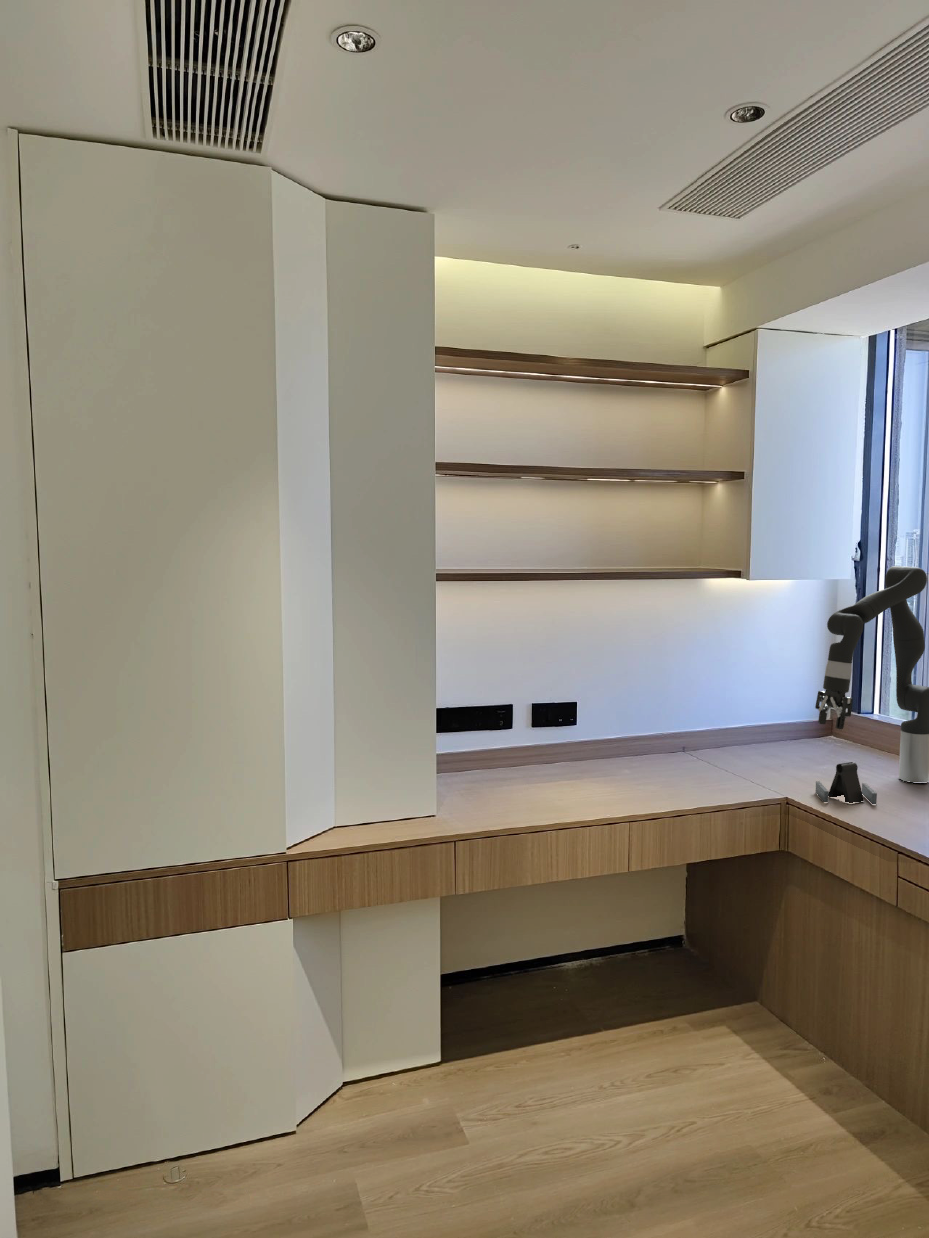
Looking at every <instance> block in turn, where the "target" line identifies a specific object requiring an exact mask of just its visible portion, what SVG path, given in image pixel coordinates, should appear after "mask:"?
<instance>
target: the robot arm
mask: <svg viewBox="0 0 929 1238" xmlns="http://www.w3.org/2000/svg"><path fill="white" fill-rule="evenodd" d="M884 579H885V580H884V581H885V583H884V585H885V588H883V589H881V590H878V591H875V592H873V593H870V594H868V595H866V596H864V597H863V598H861V599H860V600H858V601H857V602H856V603H854V604H852V605H850V606H847V607H844V608H842V609H839V610H838V611H836V612H833V613H832V614H831V615H830V616H829V618H828V620H827V623H826V625H827V629H828V631H829V633H831V634H833V635H835V636H842V639H841V640H840V641H839V642H834V643H831V644H830V646H829V651H828V657H827V663H826V666H825V671H824V672H825V673H824V678H823V679H824V680H823V686H822V688H823V689H824V690H818V691H817V696H816V702H815V706H814V708H815V709H816V710H818V713H819V714H818V724H820V725H826V723H827V717H828V711H829V710H830V709H834V711H835V712H836V715H837V717H836V722H835V729H837V730H843V729H844V727H845V721H846V718H848V717H851V716H852V708H853V697H849V696H846V694H847V693H849V692H850V686H851V685H850V684H851V678H852V672H853V668H852V666H853V661H854V651H855V649H856V647H857V644H858V642H859V640H860V638H861V636H862V633H863V632H864V624H867V623H869V622H870V621H872V620H873V619H875V618H876V617H878V616H879V615H881V613H883V612H885V611H886V610H888V609H889V610H890V617H891V625H892V640H893V649H894V657H895V659H894V660H895V669H896V672H895V674H896V679H895V681H896V685H895V691H896V693H895V694H896V695H895V696H896V697H895V698H896V702H897V706H898V708H899V709H901V710H903V711H907V712H913V713H917V716H916V718H913V719H910V720H905V721H902V722H901V724H900V742H899V744H900V745H899V762H898V764H899V765H898V779H899V778H900V779H902V780H903V781H902V782H904V781H910V782H927V781H929V686H927V685H926V686H925V685H918V684H913V682H912V676H913V675H912V674H913V670H914V668H915V667H916V665H917V663H918V662H919V660H920V659H921V658H922V656H923V655H924V653H925V651H926V650H925V649H926V643H925V632H924V629H923V626H922V624H921V623H920V621H919V620H918V619H917V617H916V616H915V614H914V612H912V611H913V610H911V608H910V606H909V604H908V599H910V598H912V597H914V596H916V595H918V594H920V593H922V591H924V589H925V588H926V586H927V583H928V577H927V573H926V571H925V570H924V569H922V568H921V567H917V566H907V565H906V566H904V565H893V566H890V567H889V568H888V569H887V571H886V573H885V578H884Z"/></svg>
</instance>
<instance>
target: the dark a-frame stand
mask: <svg viewBox="0 0 929 1238" xmlns="http://www.w3.org/2000/svg"><path fill="white" fill-rule="evenodd" d="M828 791H829V794H828V796H829V797H837V796H841V795H844V797H845V802H849V803H853V802H861V801H864V800H865V798H864V797H863V795H862V786H861V784H860V779H859V774H858V764H857V763H856V762H853V761H850V762H844V763H843V762H842V763H838V764H836V766H835V774H834V777H833V779H832V783H831V786H830V789H829V790H828ZM864 802H865V801H864Z"/></svg>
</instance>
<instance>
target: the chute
mask: <svg viewBox="0 0 929 1238" xmlns="http://www.w3.org/2000/svg"><path fill="white" fill-rule="evenodd" d="M829 791H830V790H828V789H827V788H826V786H824V785H823V783H822V782H821V781H820V780H819V781H818V780H817V781H816V780H815V794H816V793H817V794H818V796H819V797H820V798H821V799H822V800H823V802H828V803H829V798H828V794H829ZM861 791H862V794H863V795H864V796H865V797H866V798H867V799H868V800H869V801H870V802H871V803H872V804H876V805H877V802H878V801H877V798H878V793H877V792H876V791H875V790H874V789H873V788H872V787H871V786H870V785H868V784H867V783H866V782H865V783H864V782H862V783H861ZM817 794H816V795H817ZM818 796H817V797H818ZM819 797H818V798H819ZM820 798H819V799H820ZM821 799H820V800H821ZM822 800H821V801H822ZM823 802H822V803H823Z"/></svg>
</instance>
